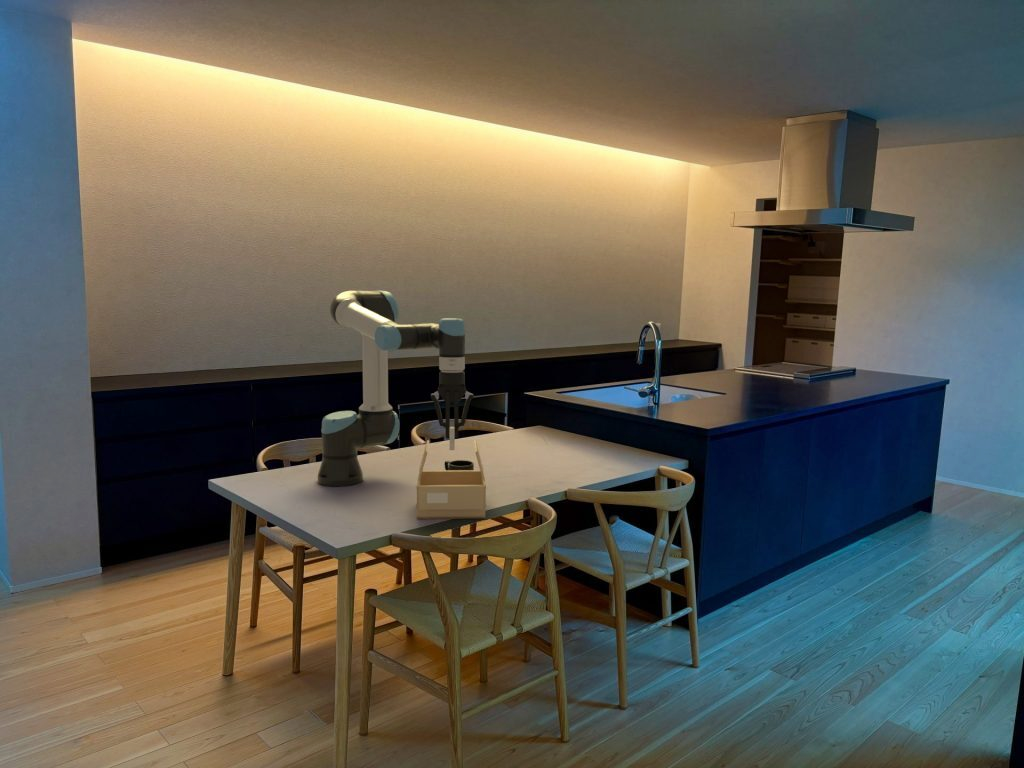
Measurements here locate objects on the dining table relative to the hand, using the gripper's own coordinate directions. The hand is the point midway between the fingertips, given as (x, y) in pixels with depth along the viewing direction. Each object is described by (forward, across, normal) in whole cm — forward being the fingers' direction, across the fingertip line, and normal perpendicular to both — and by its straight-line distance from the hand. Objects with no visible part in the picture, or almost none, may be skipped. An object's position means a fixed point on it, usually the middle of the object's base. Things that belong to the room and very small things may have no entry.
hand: (452, 449), depth 219 cm
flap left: (+8, -10, 0) cm, 13 cm away
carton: (+19, 0, 0) cm, 19 cm away
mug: (+19, +2, +21) cm, 29 cm away
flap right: (+9, +10, 0) cm, 13 cm away
